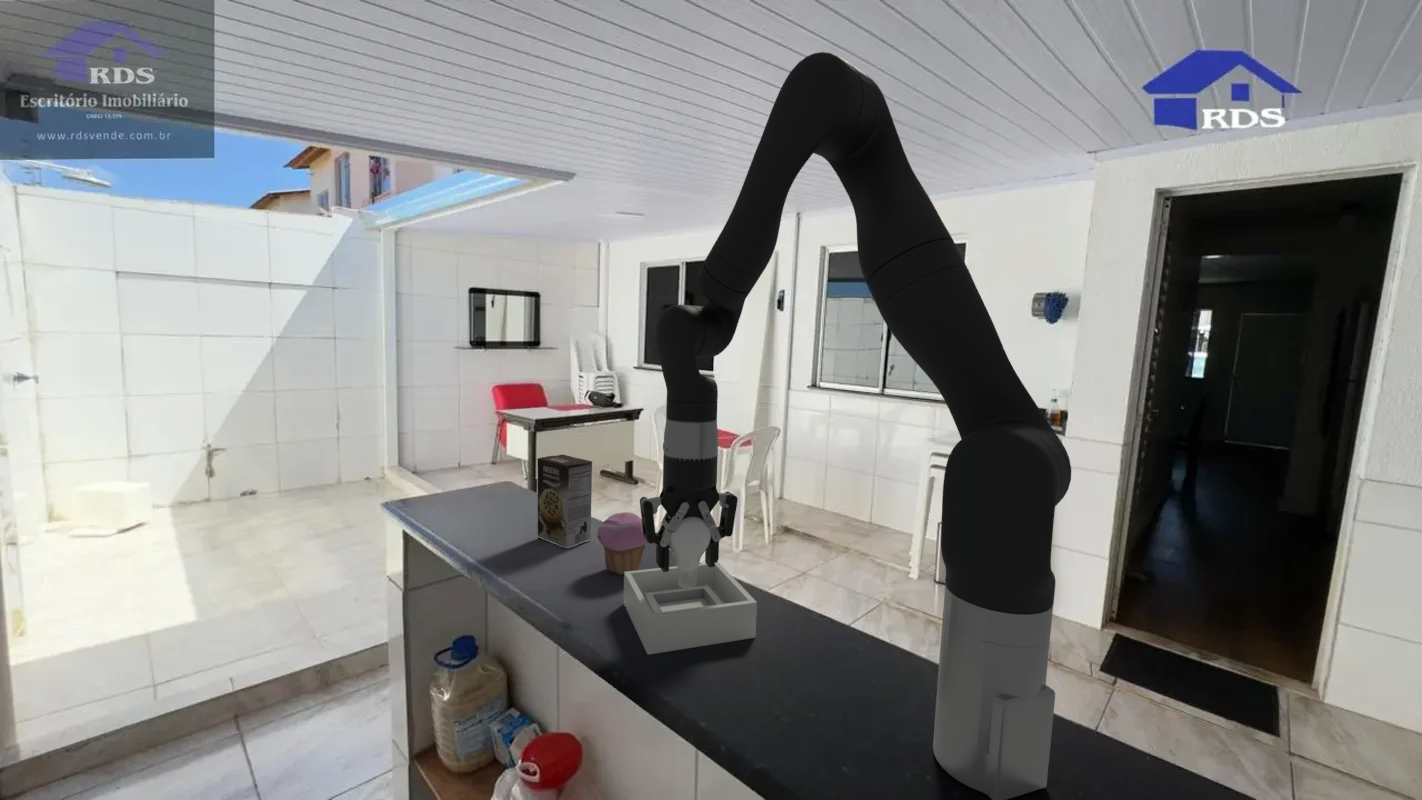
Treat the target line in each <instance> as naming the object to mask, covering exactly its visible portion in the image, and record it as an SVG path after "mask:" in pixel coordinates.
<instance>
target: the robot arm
mask: <svg viewBox="0 0 1422 800" xmlns="http://www.w3.org/2000/svg"><path fill="white" fill-rule="evenodd" d="M897 131H898V130H897V128H896V125H895V122H894V120H893V117H892V114H891V111H890V108H889V106H888V103H887V100H886V98H885V96H884V94H883V91H882V90H881V88H880V86H879V85H878V83H877V82H876V81H875V80H874V79H873V78H871V76H869V75H868V74H867V73H866V72H864V71H862V70H860V69H859V68H858V67H856V66H855V65H853V64H852V63H850V62H849V61H847V60H845V59H844V58H842V57H841V56H839V55H837V54H834V53H832V52H829V51H828V52H827V51H821V52H820V51H819V52H813V53H812V54H811V53H810V54H809V55H807V56H805V57H804V58H803V59H802V60H800V61H799V62H798V63H797V64H796V65H795V66H794V67H793V68H792V69H791V71H789V73H788V75H787V77H786V78H785V80H784V82H783V84H782V86H781V88H780V90H779V91H778V94H777V95H776V99H775V101H774V102H773V106H772V107H771V111H770V113H769V115H768V119H767V121H766V124H765V126H764V129H763V132H762V134H761V138H760V140H759V142H758V145H757V147H756V150H755V152H754V155H753V157H752V160H751V163H750V166H749V168H748V170H747V173H746V176H745V178H744V181H743V184H742V187H741V189H740V191H739V194H738V195H737V196H738V197H737V199H736V200H735V203H734V205H733V208H732V211H730V214H729V217H728V218H727V220H726V222H725V224H724V226H723V228H722V230H721V232H720V233H719V235H718V237H717V239H716V241H715V242H714V243H713V245H712V247H711V249H710V251H709V252H708V254H707V256H706V258H705V259H704V261H703V263H702V265H701V267H700V269H699V270H698V273H697V276H696V287H697V290H699V293H700V294H702V295H703V297H704V298H706V299H705V302H704V303H703V304H702V305H690V304H673V305H670V306H668V307H667V308H665V309H664V310H663V311H662V313H661V314H660V316H659V318H658V320H657V323H656V326H655V345H656V350H657V354H658V357H659V363H660V366H661V367H660V368H661V371H662V375H663V379H664V384H665V387H666V403H665V404H666V406H665V407H666V408H665V409H666V412H665V413H666V414H665V425H664V426H665V427H664V431H663V432H664V433H663V443H662V450H663V451H662V452H663V460H662V461H663V464H662V466H663V467H662V470H663V471H662V490H661V492H660V494H659V496H655V497H650V498H648V497H647V496H641V498H640V499H639V509H640V517H641V519H642V527H643V535H644V537H645V538H646V540H647V541H648V542H647V543H649V544H651V545H652V544H654V545H656V546H655V547H656V548H655V562H656V564H657V566H658V568H661V570H662V571H663V572H669V567H670V547H669V546H668V544H669V542H670V540H671V535H672V533H675V532H676V531H677V529H678V527H679V525H680V523H681V521H682V520H683V519H685V518H688V517H698V518H701V519H703V520H704V522H705V523H706V525H707V527H708V529H709V530H710V532H711V539H710V543H709V545H708V547H707V549H706V550H705V552H704V554H705V555H704V563H706V564H707V565H708V567H714V566H715V563H716V562H719V555H720V553H719V552H720V541H721V539H723V538H725V537H728V538H730V537H731V536H732V535H733V532H734V525H735V521H736V520H735V519H736V513H737V507H738V500H739V499H738V496H737V495H735V494H734V493H733V492H730V491H725V492H719V491H718V490H717V483H718V459H719V458H718V457H719V456H718V455H719V454H718V453H719V430H718V398H719V397H718V395H719V393H718V392H719V391H718V384H717V382H716V380H715V379H713V378H712V377H709V376H706V375H703V374H701V373H700V369H699V366H698V362H697V358H699V359H700V358H701V359H702V358H703V359H704V358H707V359H708V358H714V357H716V356H718V355H721V354H722V352H724V351H725V350H726V349H727V347H729V345H730V344H731V342H732V341H733V338H734V337H735V336H734V335H735V333H736V330H737V327H738V325H739V322H740V319H741V316H742V313H743V310H744V309H743V308H744V304H745V302H746V299H747V297H748V296H749V295H750V293H751V292H752V291H753V288H754V287H755V285H756V284H757V282H758V280H759V279H760V278H761V276H762V274H763V273H764V271H765V270H766V268H767V267H768V265H769V263H770V261H771V258H772V256H773V254H774V253H775V252H774V251H775V249H776V246H777V243H778V242H777V241H778V238H779V237H778V236H779V231H780V227H781V220H782V217H783V216H782V215H783V211H784V207H785V203H786V200H787V196H788V195H789V191H790V190H791V188H792V185H793V184H794V181H795V180H796V178H797V177H798V175H799V173H800V171H801V170H802V169H803V167H804V166H805V164H806V163H807V162H808V160H809V159H810V158H811V157H812V155H814V154H815V155H818V156H820V157H822V158H823V159H824V160H826V161H827V162H828V163H829V165H830V167H831V168H832V169H833V171H834V172H835V174H836V176H837V177H838V179H839V180H840V182H841V184H842V186H843V188H844V190H845V192H846V193H847V196H848V198H849V200H850V202H851V205H852V208H853V212H854V216H855V221H856V222H855V223H856V241H857V242H856V244H857V255H858V260H859V261H858V262H859V266H860V269H861V273H862V276H863V279H864V281H865V283H866V285H867V287H868V290H869V292H870V294H871V297H872V299H873V301H874V303H875V305H876V307H877V308H878V311H879V313H880V315H881V317H882V319H883V321H884V323H885V325H886V326H887V328H888V329H889V331H890V332H891V334H892V336H893V337H894V338H895V339H896V340H897V342H898V343H899V345H900V346H901V347H902V348H903V349H904V350H905V351H906V353H907V354H908V355H909V356H910V357H911V359H912V360H913V361H914V363H916V365H917V366H918V367H919V368H920V369H921V370H922V371H923V373H924V374H926V376H927V377H928V379H930V381H931V382H932V383H933V385H934V386H935V387H936V388H937V390H938V392H939V393H940V395H941V397H942V398H943V401H944V403H945V404H946V407H947V408H948V410H949V413H950V415H951V417H952V419H953V422H954V424H955V426H956V429H957V431H958V434H959V436H960V439H961V440H959V441H958V442H957V443H956V444H955V445H954V446H953V448H952V450H951V451H950V454H949V456H948V459H947V461H946V466H945V470H944V473H943V474H944V475H943V483H942V496H941V497H942V501H941V502H942V504H941V526H940V527H941V529H940V530H941V533H940V551H941V558H942V562H943V563H944V566H945V583H944V584H945V585H944V596H943V597H944V598H943V610H942V620H941V635H940V647H939V648H940V650H939V661H938V674H937V687H936V699H935V700H936V701H935V715H934V728H933V741H932V750H933V751H932V752H933V754H934V757H935V759H936V761H937V762H938V763H939V766H940V767H941V768H942V769H943V770H944V771H945V772H946V773H947V774H949V776H951V777H953V778H954V779H955V780H957V781H958V782H959V783H962V784H963V785H965V786H967V787H969V788H971V789H973V790H976V791H979V792H980V793H983V794H985V795H987V797H989V798H990V799H991V800H1009V799H1013V798H1016V797H1020V796H1022V795H1025V794H1029V793H1032V792H1035V791H1038V790H1042V789H1045V788H1046V787H1047V786H1048V785H1047V783H1048V775H1049V772H1048V771H1049V763H1050V753H1051V742H1052V734H1053V733H1052V732H1053V724H1054V723H1053V722H1054V711H1055V702H1056V692H1055V690H1054V689H1053V688H1051V687H1050V686H1048V685H1047V684H1046V683H1047V673H1048V663H1049V662H1048V661H1049V651H1050V644H1051V643H1050V642H1051V633H1052V622H1053V612H1054V602H1055V593H1056V577H1055V574H1054V572H1053V570H1052V565H1051V564H1052V562H1051V561H1052V560H1051V559H1052V549H1053V548H1052V547H1053V546H1052V545H1053V534H1054V533H1053V531H1054V520H1055V511H1056V506H1057V505H1058V504H1059V503H1060V502H1061V501H1062V500H1063V499H1064V497H1065V495H1066V494H1067V493H1068V491H1069V487H1070V484H1071V480H1072V466H1071V461H1070V456H1069V454H1068V452H1067V448H1066V447H1065V446H1064V444H1063V442H1062V440H1061V439H1060V437H1059V436H1058V435H1057V433H1056V431H1055V430H1054V429H1053V427H1052V426H1051V424H1050V423H1049V421H1048V420H1047V418H1046V417H1045V415H1044V414H1043V413H1042V411H1041V410H1040V408H1039V406H1038V404H1036V402H1035V400H1034V399H1033V397H1032V396H1031V394H1030V393H1029V391H1028V390H1027V388H1026V387H1025V385H1024V383H1023V382H1022V381H1021V379H1020V377H1019V376H1018V374H1017V372H1016V370H1015V369H1014V367H1013V365H1012V363H1011V361H1010V359H1009V357H1008V355H1007V352H1006V351H1005V348H1004V346H1003V344H1002V341H1001V338H1000V336H999V334H998V332H997V329H996V327H995V324H994V321H993V320H992V317H991V316H990V314H989V311H988V310H987V306H986V305H985V303H984V301H983V298H982V297H981V295H980V291H979V290H978V288H977V285H976V284H975V281H974V279H973V276H972V275H971V272H970V271H969V270H970V269H969V268H968V266H967V265H966V262H965V261H964V259H963V256H962V254H961V253H960V250H959V249H958V247H957V245H956V243H955V241H954V239H953V238H952V236H951V233H950V232H949V231H948V229H947V227H946V225H945V223H944V222H943V220H942V218H941V216H940V214H939V213H938V211H937V208H936V207H935V206H934V204H933V202H932V199H931V198H930V197H929V195H928V193H927V192H926V190H925V188H924V186H923V185H922V183H921V182H920V181H919V178H918V177H917V176H916V174H915V172H914V170H913V169H912V168H913V167H912V166H911V164H910V162H909V160H908V157H907V155H906V153H905V150H904V147H903V144H902V141H901V139H900V136H899V133H898V132H897ZM718 503H719V506H720V507H721V510H720V511H721V512H720V517H719V523H718V524H719V525H717V524H716V522H715V519H714V517H713V515H712V511H713V510H714V508H715V507H716V505H717V504H718ZM660 506H661V507H663V509H664V510H665V514H664V516H663V518H662V520H661V525H660V528H658V531H657V532H656V527H655V526H656V525H655V517H654V515H655V514H657V513H658V509H659V507H660Z"/></svg>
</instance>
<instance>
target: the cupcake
mask: <svg viewBox="0 0 1422 800" xmlns="http://www.w3.org/2000/svg"><path fill="white" fill-rule="evenodd" d="M640 517H641V516H639V515H637V514H635V513H632V512H628V511H626V512H617V513H614V514H611V515H610V516H609V517H607V518H606V519H605V520H604V521H603V522H602V523H601V525H600V526H599V527H598V529H597V534H596V537H597V540H598V541H599V543H600V544H601V545H602V547H603V550H604V562H605V567H606V569H607V571H610V572H612V573H614V574H617V575H624V572H627V571H636V570H639V568H640V565H641V562H642V556H643V553H644V550H645V548H646V547H645V546H646V544H647V543H648V541H647V540H646V538H645V537H644V535H643V527H642V518H640Z"/></svg>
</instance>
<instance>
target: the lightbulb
mask: <svg viewBox="0 0 1422 800" xmlns="http://www.w3.org/2000/svg"><path fill="white" fill-rule="evenodd" d="M710 539H711V532H710V530H709V529H708V527H707V525H706V523H705V522H704V520H703V519H701V518H698V517H688V518H685V519H683V520H682V521H681V523H680V525H679V527H678V529H677V531H676V532H675V533H672V535H671V540H670V542H669V544H668V546H669V547H670V548H669V551H671V553H672V554H673V556H674V560H675V566H677V567H678V585H679V586H680V587H682V588H684V589H690V588H692V587H694V586H696V581H697V580H696V578H697V577H696V576H697V574H696V573H697V567H698V566H699V564H700V563H701V558H702V556H703V554H705V550H706V549H707V547H708V545H709V543H710Z"/></svg>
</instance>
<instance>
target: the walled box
mask: <svg viewBox="0 0 1422 800" xmlns="http://www.w3.org/2000/svg"><path fill="white" fill-rule="evenodd" d="M696 574H697V576H696V577H697V578H696V580H697V581H696V586H694V587H692V588H690V589H684V588H682V587H680V586H679V585H678V567H677V565H675V566H669V572H663V571H662V570H661V568H659V567H654V568H645V569H637V570H636V571H627V572H624V574H623V606H624V608H625V607H626V608H625V609H626V612H627V614H628V616H629V618H630V621H631V623H632V624H633V626H634V629H635V631H636V634H637V635H638V638H639V639H640V641H641V645H642V646H643V648H644V650H645V652H646V655H648V656H649V655H656V654H661V653H668V652H673V651H680V650H685V649H693V648H698V647H705V646H712V645H717V644H724V643H731V642H736V641H742V640H748V639H749V640H750V639H754V638H756V634H757V633H756V631H757V611H758V610H757V609H758V601H756V600H755V599H754V598H753V596H752V595H751V594H750V593H749V592H748V591H747V590H746V589H745V588H744V587H743V586H742V584H740V583H739V582H738V581H737V580H736V579H735V578H734V577H733V576H732V574H731V573H729V572H728V570H726V568H724V567H723V565H722V564H721V563H720V562H719V561H717V562H716V563H715V566H714V567H708V565H707V564H706V562H703V563H701V562H699V566H698V567H697V573H696Z"/></svg>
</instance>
